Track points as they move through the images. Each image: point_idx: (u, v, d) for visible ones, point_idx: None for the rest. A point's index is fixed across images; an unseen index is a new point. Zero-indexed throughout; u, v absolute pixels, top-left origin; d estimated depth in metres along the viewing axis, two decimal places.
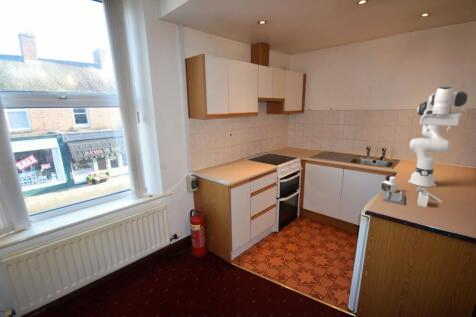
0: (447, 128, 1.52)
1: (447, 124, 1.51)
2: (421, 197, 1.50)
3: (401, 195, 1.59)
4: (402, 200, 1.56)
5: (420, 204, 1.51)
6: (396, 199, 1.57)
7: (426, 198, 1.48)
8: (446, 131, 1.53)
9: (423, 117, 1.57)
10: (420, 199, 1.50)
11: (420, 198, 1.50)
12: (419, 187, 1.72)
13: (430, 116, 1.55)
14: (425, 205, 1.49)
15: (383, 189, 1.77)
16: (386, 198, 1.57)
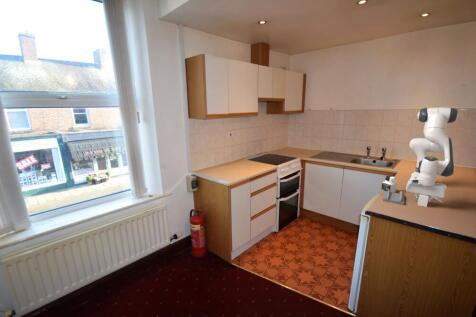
0: (430, 198, 1.50)
1: (433, 195, 1.48)
2: (421, 197, 1.50)
3: (401, 195, 1.59)
4: (402, 200, 1.56)
5: (420, 204, 1.51)
6: (396, 199, 1.57)
7: (426, 198, 1.48)
8: (429, 201, 1.50)
9: (409, 185, 1.54)
10: (420, 199, 1.50)
11: (420, 198, 1.50)
12: None
13: (416, 185, 1.52)
14: (425, 205, 1.49)
15: (383, 189, 1.77)
16: (386, 198, 1.57)
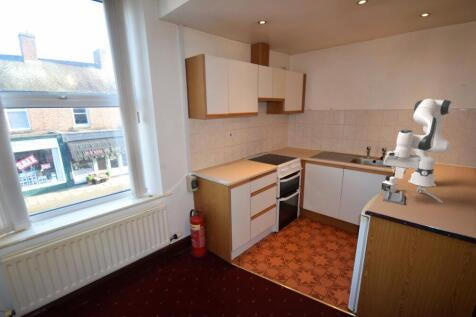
0: (406, 170, 1.55)
1: (408, 167, 1.52)
2: (397, 169, 1.54)
3: (401, 195, 1.59)
4: (402, 200, 1.56)
5: (396, 176, 1.55)
6: (396, 199, 1.57)
7: (402, 170, 1.53)
8: (405, 173, 1.55)
9: (386, 158, 1.58)
10: (396, 171, 1.55)
11: (396, 170, 1.55)
12: (419, 187, 1.72)
13: (392, 158, 1.56)
14: (401, 177, 1.54)
15: (383, 189, 1.77)
16: (386, 198, 1.57)
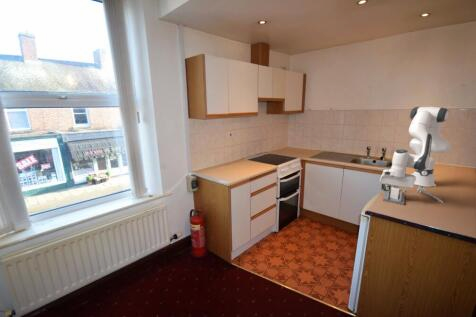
0: (404, 189, 1.58)
1: (404, 186, 1.56)
2: (392, 190, 1.58)
3: (401, 195, 1.59)
4: (402, 200, 1.56)
5: (392, 196, 1.59)
6: (396, 199, 1.57)
7: (397, 191, 1.57)
8: (403, 192, 1.58)
9: (382, 177, 1.62)
10: (392, 192, 1.59)
11: (392, 191, 1.59)
12: (419, 187, 1.72)
13: (388, 176, 1.60)
14: (396, 197, 1.58)
15: (383, 189, 1.77)
16: (386, 198, 1.57)
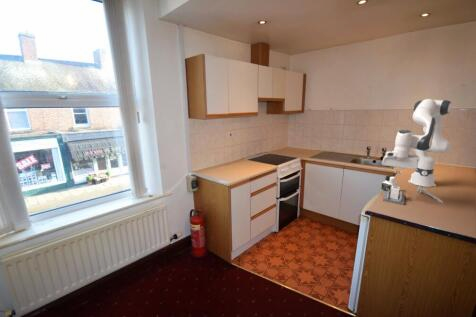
0: (401, 170, 1.57)
1: (407, 167, 1.53)
2: (392, 190, 1.58)
3: (401, 195, 1.59)
4: (402, 200, 1.56)
5: (392, 196, 1.59)
6: (396, 199, 1.57)
7: (397, 191, 1.57)
8: (400, 172, 1.57)
9: (385, 158, 1.59)
10: (392, 192, 1.59)
11: (392, 191, 1.59)
12: (419, 187, 1.72)
13: (391, 158, 1.57)
14: (396, 197, 1.58)
15: (383, 189, 1.77)
16: (386, 198, 1.57)
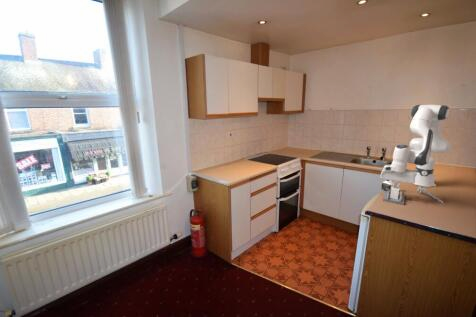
0: (398, 183, 1.59)
1: (404, 181, 1.55)
2: (392, 190, 1.58)
3: (401, 195, 1.59)
4: (402, 200, 1.56)
5: (392, 196, 1.59)
6: (396, 199, 1.57)
7: (397, 191, 1.57)
8: (397, 186, 1.59)
9: (383, 172, 1.61)
10: (392, 192, 1.59)
11: (392, 191, 1.59)
12: (420, 187, 1.72)
13: (389, 172, 1.59)
14: (396, 197, 1.58)
15: (383, 189, 1.77)
16: (386, 198, 1.57)
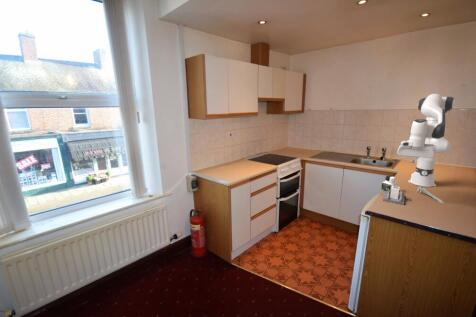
0: (416, 159, 1.57)
1: (423, 156, 1.53)
2: (392, 190, 1.58)
3: (401, 195, 1.59)
4: (402, 200, 1.56)
5: (392, 196, 1.59)
6: (396, 199, 1.57)
7: (397, 191, 1.57)
8: (415, 162, 1.57)
9: (400, 148, 1.59)
10: (392, 192, 1.59)
11: (392, 191, 1.59)
12: (419, 187, 1.72)
13: (406, 147, 1.57)
14: (396, 197, 1.58)
15: (383, 189, 1.77)
16: (386, 198, 1.57)
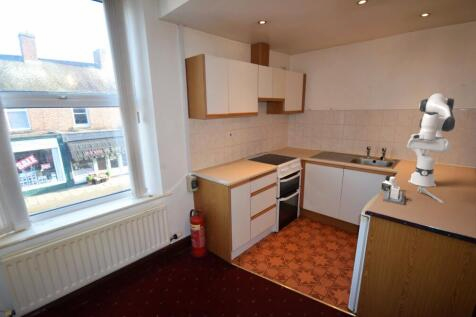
0: (426, 152, 1.56)
1: (434, 149, 1.52)
2: (392, 190, 1.58)
3: (401, 195, 1.59)
4: (402, 200, 1.56)
5: (392, 196, 1.59)
6: (396, 199, 1.57)
7: (397, 191, 1.57)
8: (425, 155, 1.56)
9: (410, 141, 1.58)
10: (392, 192, 1.59)
11: (392, 191, 1.59)
12: (420, 187, 1.72)
13: (417, 140, 1.56)
14: (396, 197, 1.58)
15: (383, 189, 1.77)
16: (386, 198, 1.57)
